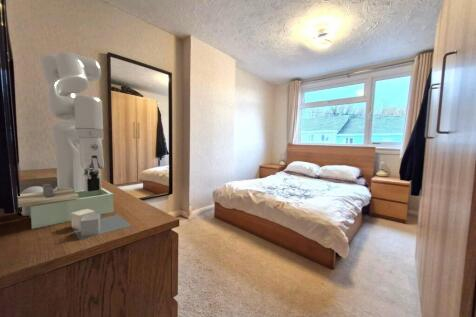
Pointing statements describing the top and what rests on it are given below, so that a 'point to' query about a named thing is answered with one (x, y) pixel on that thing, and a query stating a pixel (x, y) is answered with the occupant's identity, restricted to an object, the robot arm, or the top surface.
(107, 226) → the mat
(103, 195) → the bin
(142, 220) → the top surface
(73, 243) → the top surface
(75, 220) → the beige cube
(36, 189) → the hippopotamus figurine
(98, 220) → the light grey cube
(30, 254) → the top surface
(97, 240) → the top surface
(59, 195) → the lid
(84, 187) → the white stacked cube
